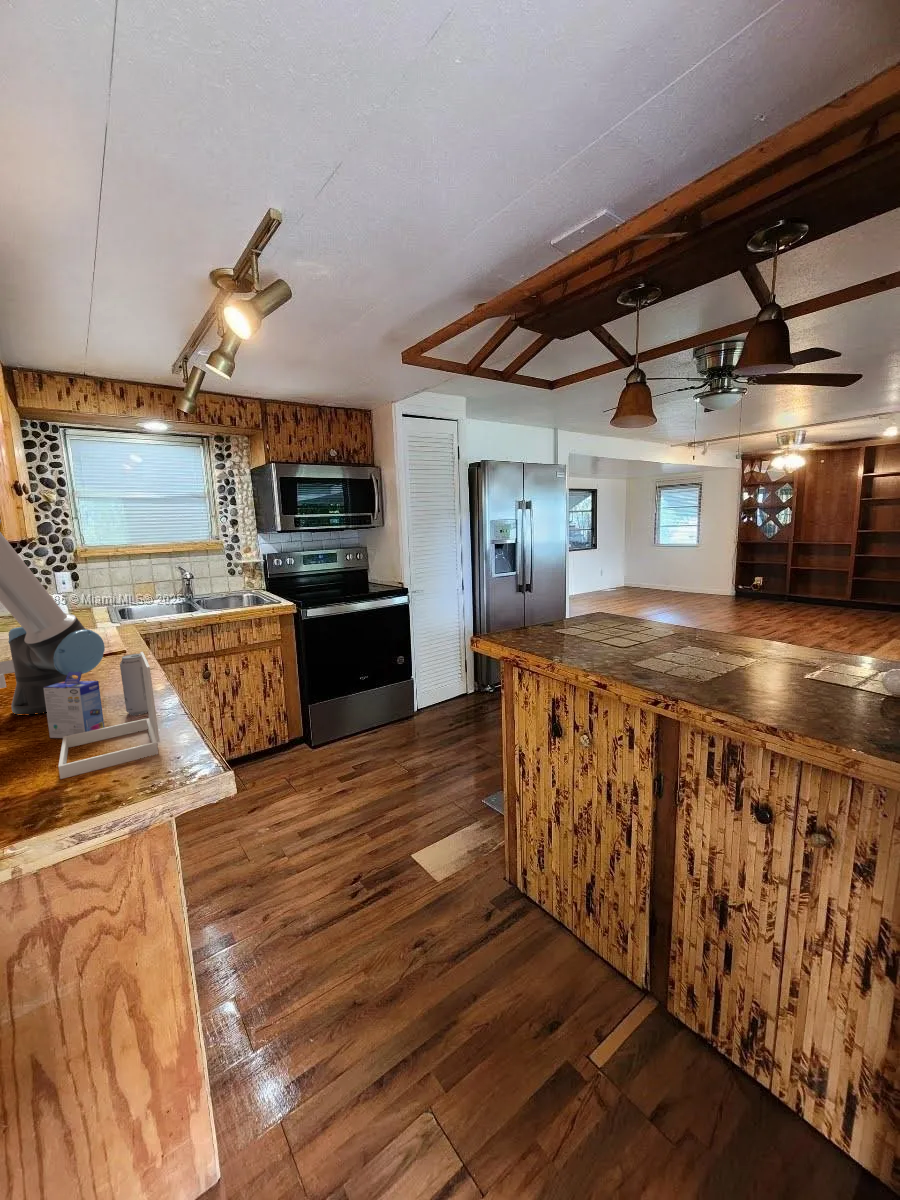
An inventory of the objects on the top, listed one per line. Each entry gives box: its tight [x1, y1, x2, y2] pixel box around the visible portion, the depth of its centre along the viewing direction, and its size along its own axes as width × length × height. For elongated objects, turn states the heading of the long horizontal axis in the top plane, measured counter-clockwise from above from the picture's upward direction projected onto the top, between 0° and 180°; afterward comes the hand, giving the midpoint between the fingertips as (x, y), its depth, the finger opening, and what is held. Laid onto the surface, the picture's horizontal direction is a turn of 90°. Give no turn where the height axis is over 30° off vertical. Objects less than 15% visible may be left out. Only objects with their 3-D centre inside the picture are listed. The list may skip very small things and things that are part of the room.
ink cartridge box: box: [43, 672, 105, 739], centre depth 113 cm, size 10×6×14 cm, turn 82°
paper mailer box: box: [58, 651, 160, 780], centre depth 103 cm, size 18×16×18 cm
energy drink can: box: [119, 653, 149, 716], centre depth 126 cm, size 6×6×15 cm
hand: (9, 672), depth 103 cm, fingers open, 13 cm apart
